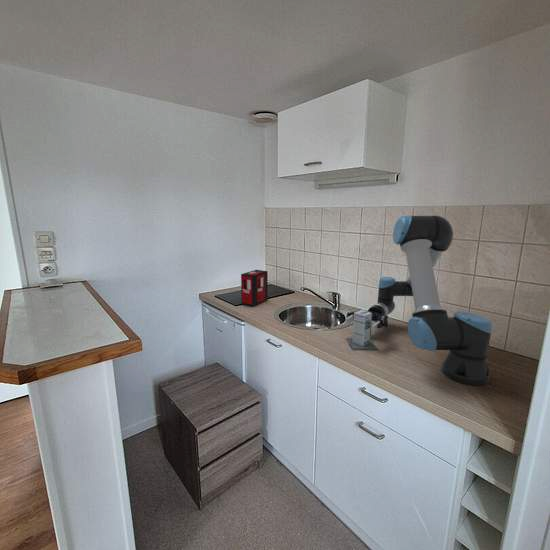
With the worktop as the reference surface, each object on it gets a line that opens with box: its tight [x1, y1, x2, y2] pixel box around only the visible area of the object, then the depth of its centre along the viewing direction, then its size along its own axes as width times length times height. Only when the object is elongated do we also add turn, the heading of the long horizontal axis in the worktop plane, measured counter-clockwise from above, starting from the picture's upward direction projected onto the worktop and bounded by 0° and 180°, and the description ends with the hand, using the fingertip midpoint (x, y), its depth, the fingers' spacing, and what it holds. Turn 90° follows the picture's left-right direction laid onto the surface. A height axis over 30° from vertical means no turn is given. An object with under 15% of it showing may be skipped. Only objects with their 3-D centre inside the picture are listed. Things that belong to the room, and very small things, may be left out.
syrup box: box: [352, 309, 372, 346], centre depth 137 cm, size 6×6×14 cm
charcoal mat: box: [345, 337, 378, 351], centre depth 139 cm, size 11×11×1 cm
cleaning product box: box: [240, 269, 269, 308], centre depth 197 cm, size 16×9×20 cm, turn 148°
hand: (359, 325), depth 134 cm, fingers open, 12 cm apart
